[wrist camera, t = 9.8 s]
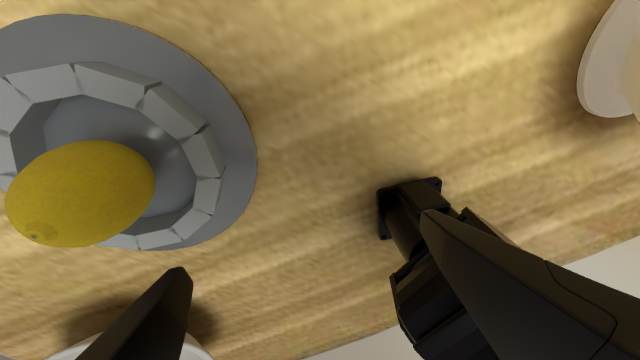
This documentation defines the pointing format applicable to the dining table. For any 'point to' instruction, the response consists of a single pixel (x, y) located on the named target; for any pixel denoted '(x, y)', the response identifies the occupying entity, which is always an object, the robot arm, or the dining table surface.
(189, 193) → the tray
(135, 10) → the dining table surface
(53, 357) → the dish
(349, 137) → the dining table surface
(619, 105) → the decorative vase
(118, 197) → the lemon
